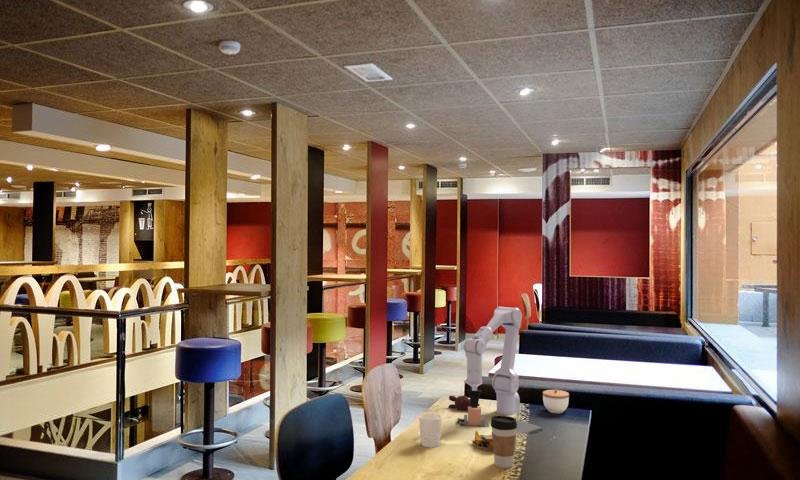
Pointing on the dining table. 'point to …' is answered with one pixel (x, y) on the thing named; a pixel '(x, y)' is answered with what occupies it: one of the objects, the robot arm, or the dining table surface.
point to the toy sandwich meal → (483, 441)
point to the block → (474, 416)
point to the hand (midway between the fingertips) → (474, 404)
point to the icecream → (460, 402)
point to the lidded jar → (555, 400)
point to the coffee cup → (503, 440)
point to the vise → (465, 423)
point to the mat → (527, 427)
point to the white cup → (430, 429)
